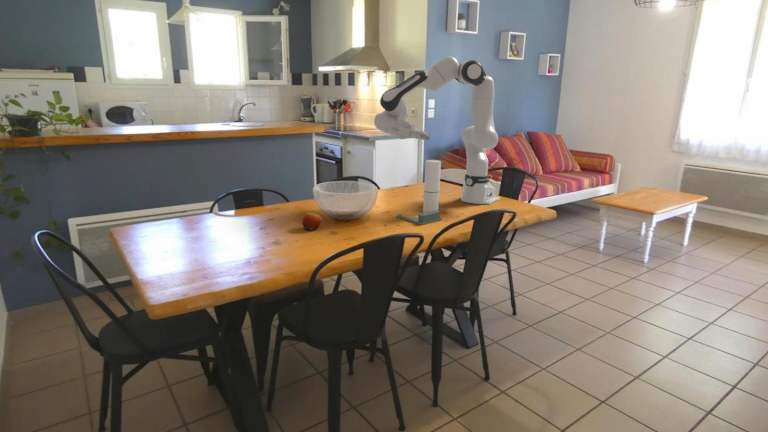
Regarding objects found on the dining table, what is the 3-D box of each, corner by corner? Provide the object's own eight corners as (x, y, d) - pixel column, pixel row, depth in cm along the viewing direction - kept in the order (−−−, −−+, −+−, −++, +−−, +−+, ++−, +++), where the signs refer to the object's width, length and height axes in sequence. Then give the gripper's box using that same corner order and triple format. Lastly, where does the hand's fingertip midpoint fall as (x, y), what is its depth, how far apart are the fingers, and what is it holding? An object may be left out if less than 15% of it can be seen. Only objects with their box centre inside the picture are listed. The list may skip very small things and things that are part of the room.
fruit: (296, 228, 187) (300, 209, 189) (304, 232, 194) (309, 214, 196) (313, 230, 184) (318, 211, 186) (321, 235, 192) (325, 217, 194)
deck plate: (415, 212, 220) (415, 204, 219) (441, 220, 208) (441, 211, 207) (395, 216, 212) (395, 208, 210) (421, 225, 200) (421, 216, 199)
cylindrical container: (437, 211, 222) (440, 160, 216) (438, 215, 216) (441, 162, 209) (423, 210, 223) (425, 159, 216) (422, 214, 216) (425, 161, 209)
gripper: (391, 120, 215) (415, 129, 208) (414, 125, 231) (437, 133, 224) (387, 133, 216) (411, 142, 209) (410, 137, 233) (433, 146, 226)
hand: (424, 138), depth 217 cm, fingers open, 8 cm apart
